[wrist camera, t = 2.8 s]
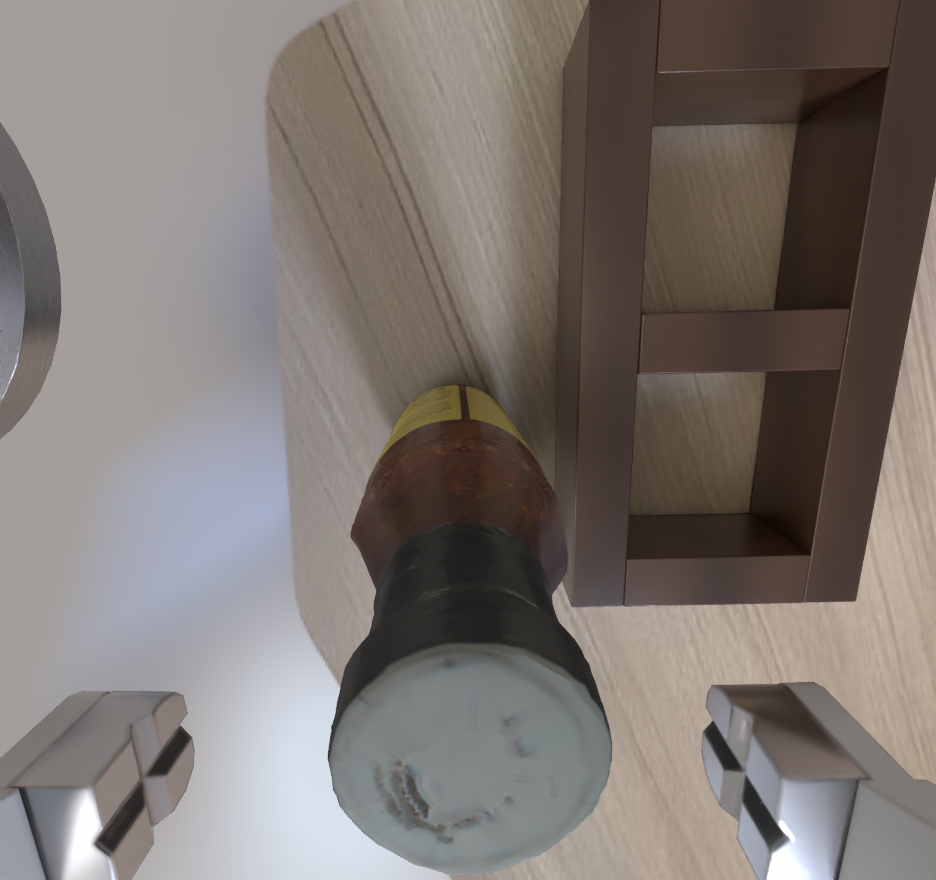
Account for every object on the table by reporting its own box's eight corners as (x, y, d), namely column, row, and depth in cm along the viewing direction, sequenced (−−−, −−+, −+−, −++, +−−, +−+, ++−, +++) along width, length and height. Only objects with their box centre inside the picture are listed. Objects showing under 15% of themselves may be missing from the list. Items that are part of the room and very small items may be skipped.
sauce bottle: (392, 483, 26) (186, 917, 7) (405, 371, 25) (194, 531, 6) (508, 500, 27) (617, 963, 7) (528, 390, 25) (732, 605, 6)
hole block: (553, 558, 27) (571, 608, 23) (563, 67, 22) (590, -7, 17) (787, 553, 27) (856, 602, 23) (860, 59, 22) (974, -18, 17)
